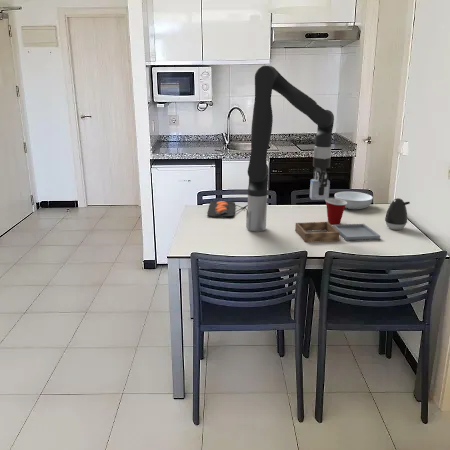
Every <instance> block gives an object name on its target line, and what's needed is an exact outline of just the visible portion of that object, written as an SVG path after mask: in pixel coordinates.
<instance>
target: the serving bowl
mask: <svg viewBox="0 0 450 450" xmlns="http://www.w3.org/2000/svg"><path fill="white" fill-rule="evenodd" d="M334 199H340V200H344V201H346V202H347V204H346V206H345V208H346V209H347V208H348V210H361V209H365V208H367V207H369V206H370V205H371V204H372V202H373V199H374V197H373V195H370V194H369V193H366V192H365V193H364V192H360V191H338V192H336V193H334ZM345 208H344V209H345Z"/></svg>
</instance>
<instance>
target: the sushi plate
mask: <svg viewBox="0 0 450 450" xmlns="http://www.w3.org/2000/svg"><path fill="white" fill-rule="evenodd" d="M236 207H238V208H240V209H237V210H236ZM247 208H248V204H247V205H245V206H240V205H237V204H236V202H235V201H228V200H227V201H224V200H218V201H217V200H216V201H210V203H209V205H208V208H207V215H206V216H208V217H214V218H215V217H219V218H229V217H234V216H235V213H237V212H239V211H241V210H242V209H243V210H246V211H247Z"/></svg>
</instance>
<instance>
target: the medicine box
mask: <svg viewBox="0 0 450 450" xmlns="http://www.w3.org/2000/svg"><path fill="white" fill-rule="evenodd" d="M330 184H331V181H330V180H329V179H328V181H327V186H326V187H324V195H319V182H318V179H314V178H312V179H310V185H309V186H310V187H309V198H310V200H312V201H314V200H315V201H316V200H317V201H318V200H319V201H321V200H322V201H323V200H328V199H329V197H330V188H331V185H330Z"/></svg>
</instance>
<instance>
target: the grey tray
mask: <svg viewBox="0 0 450 450" xmlns="http://www.w3.org/2000/svg"><path fill="white" fill-rule="evenodd" d="M332 226H333V227H334V228H335V229H337V230H338V231H339V232H340V235H339V237H341V238H342V239H343V238H344V239H343V240H344V241H345V242H357V241H358V242H359V241H361V242H362V241H380V239H381V235H380V234H378V233H377V232H376V231H375V230H373V229H372V228H370V227H369V226H368V225H366V223H352V224H351V223H348V224H347V223H346V224H345V223H343V224H339V225H332Z"/></svg>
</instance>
